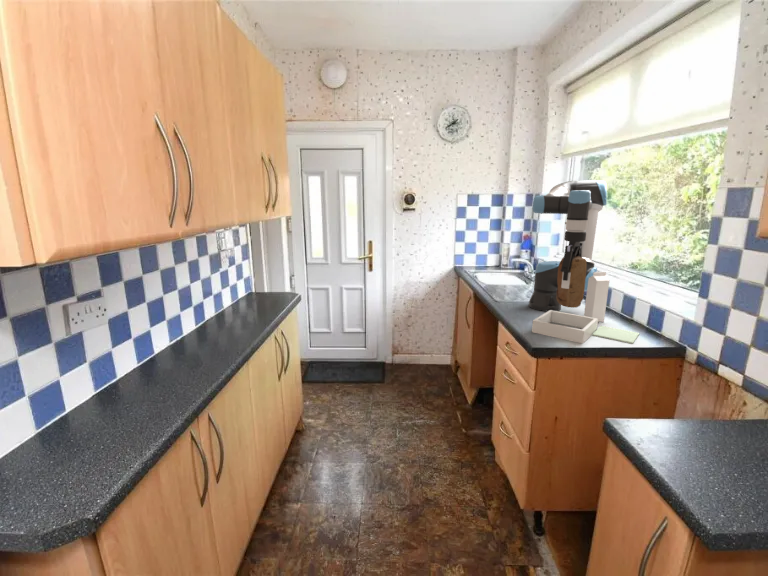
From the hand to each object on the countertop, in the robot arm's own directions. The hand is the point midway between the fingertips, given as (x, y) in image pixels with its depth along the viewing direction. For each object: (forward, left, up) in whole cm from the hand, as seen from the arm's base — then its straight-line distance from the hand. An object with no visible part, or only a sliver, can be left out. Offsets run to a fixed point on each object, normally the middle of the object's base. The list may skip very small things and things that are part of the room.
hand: (569, 285), depth 157 cm
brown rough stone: (0, 0, -8) cm, 8 cm away
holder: (0, 0, -19) cm, 19 cm away
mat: (-9, +17, -19) cm, 27 cm away
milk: (-25, +5, -20) cm, 32 cm away
